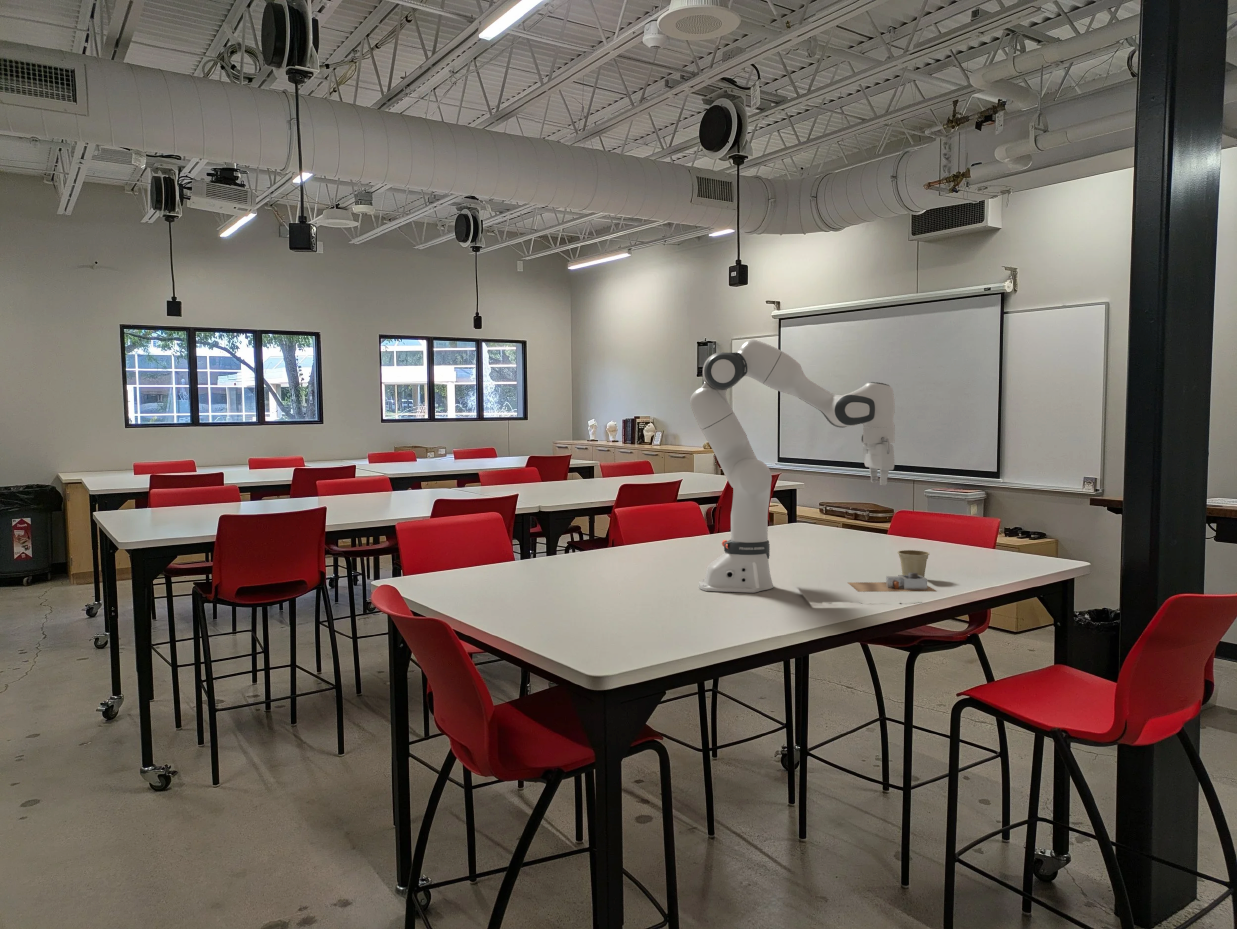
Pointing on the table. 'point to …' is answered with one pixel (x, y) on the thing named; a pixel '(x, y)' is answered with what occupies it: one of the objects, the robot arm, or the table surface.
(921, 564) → the flower pot
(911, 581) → the grey square frame
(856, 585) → the board
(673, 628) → the table surface
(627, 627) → the table surface
